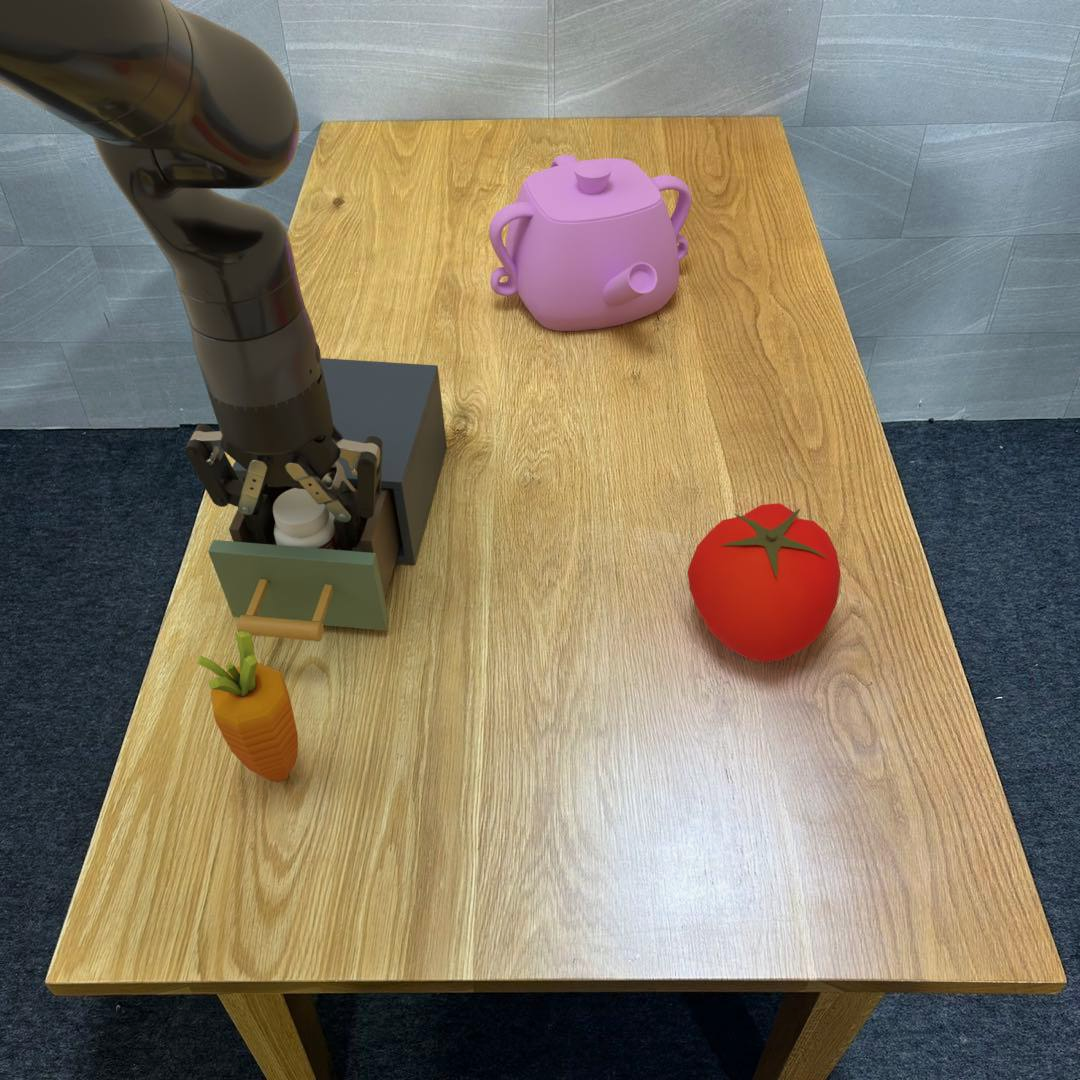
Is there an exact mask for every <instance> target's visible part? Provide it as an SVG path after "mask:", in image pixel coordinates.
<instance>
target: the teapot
mask: <svg viewBox="0 0 1080 1080" xmlns="http://www.w3.org/2000/svg"><path fill="white" fill-rule="evenodd" d="M667 190H668V191H669V190H671V191H676V192H677V193H678V197H677V201H676V204H675V207H674V210H673V211H672V214H671V215H670V214H669V211H668V208H667V207H668V206H667V205H666V202H665V200H664V198H663V195H662V193H661V192H663V191H667ZM692 200H693V199H692V192H691V189H690V187H689V185H688V184H686V182H684V181H683V180H682V179H680V178H679V177H677V176H674V175H670V174H661V175H657V176H653V177H651V178H650V177H649V176H648V174H646V173H645V171H644V170H643V169H642V168H641V167H640V166H638V164H637V163H635V162H634V161H632V160H630V159H626V158H616V157H615V158H600V159H599V158H597V159H596V158H595V159H585V160H580V161H579V160H578V159H577V157H576V156H574V155H572V154H561V155H559V156H556V157H554V159H552V161H551V163H550V167H548V168H545V169H542V170H539V171H536V172H534V173H532V174H530V175H529V176H528V177H526V178H525V179H524V181H523V183H522V185H521V186H520V190H519V192H518V195H517V197H516V200H515V202H512V203H510V204H507V205H504V206H503V207H501V209H500V210H498V211H497V212H496V213H495V214H494V216H493V217H492V218H491V221H490V222H489V228H488V236H489V240H490V244H491V247H492V249H493V251H494V253H495V255H496V257H497V258H498V260H499V262H500V264H501V265H502V266H501V267H497V268H495V269H494V270H493V271H492V272H491V274H490V278H489V279H490V280H489V284H490V287H491V290H492V291H493V292H494V293H495V294H496V295H499V296H502V297H511V296H514V295H516V294H517V295H518V297H519V298H520V300H521V302H522V303H523V304H524V306H525V307H526V309H527V311H528V312H529V313H530V314H531V316H533V318H534V320H536V322H537V323H538V324H539V325H541V326H542V327H544V328H546V329H548V330H552V331H557V332H558V331H559V332H579V331H590V330H598V329H606V328H611V327H616V326H620V325H625V324H627V323H628V324H629V323H630V322H635V321H637V320H640V319H642V318H646V317H647V316H650V315H652V314H654V313H656V312H659V311H660V310H661V309H663V308H664V307H665V306H666V305H667V303H668V302H669V301H670V300H671V298H672V296H673V295H674V294H675V292H676V291H677V288H678V285H679V283H680V262H681V261H682V260H683V259H685V258H686V257H687V255H688V254H689V248H690V247H689V246H690V245H689V241H688V238H687V237H686V236H685V235H684V234H682V233H681V231H682V229H683V227H684V225H685V224H686V221H687V219H688V217H689V213H690V211H691V207H692ZM507 225H508V226H507ZM506 226H507V231H506V239H505V240H506V241H505V244H504V240H503V237H502V236H503V235H502V232H503V230H504V229H505V227H506ZM503 277H508V279H507V280H506V281H503V282H501V281H500V280H501V279H502V278H503Z"/></svg>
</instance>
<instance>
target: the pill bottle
mask: <svg viewBox="0 0 1080 1080" xmlns="http://www.w3.org/2000/svg"><path fill="white" fill-rule="evenodd" d="M273 515H274V519H275V522H276V523H275V526H274V536H275V541H276V544H277V545H282V546H295V547H307V548H319V549H332V550H340V547H339V543H338V539H337V535H336V530H335V526H334V522H333V521H334V519H335V517H334V516H333V514H332V513H331V512H330V511H329V510H328V509H327V507H326V506H325V505H324V504H320V505H319V504H317V503H316V501H315V500H314V499H313V498H312V497H311V495H310V494H309V493H308V492H307V491H306V490H305V489H297V488H293V489H290V490H288V491H286V492H284V493H283V494H281V495H280V496H279V497H278V498H277V499H276V500H275V502H274V504H273Z"/></svg>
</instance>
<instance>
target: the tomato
mask: <svg viewBox="0 0 1080 1080" xmlns="http://www.w3.org/2000/svg"><path fill="white" fill-rule="evenodd" d="M800 512H801V508H798V509H797V510H796V511H793V510H792V509H790V508H789V507H787V506H785V505H784V504H782V503H781V502H778V503H777V502H776V503H767V504H761V505H759V506H757V507H755V508H754V509H751V510H749V511H747V512H746V513H745V514H743V515H739V514H737V513H735V512H733V515H734V516H735V517H731V518H726V519H722V520H721V521H719V522H718V523H717V524H716V525H715V526H714V527H712V529H711V530H710V531H708V532H707V534H706V535H705V536H704V538H703V539H701V541H700V542H698V544H697V545H696V547H695V550H694V553H693V555H692V558H691V561H690V563H689V566H688V569H687V579H688V587H689V591H690V594H691V596H692V599H693V602H694V605H695V607H696V609H697V611H698V612H699V614H700V616H701V618H702V619H703V621H704V623H705V625H706V627H707V628H708V630H709V632H710V633H711V634H712V635H713V636H714V637H715V638H716V639H717V640H718V641H719V642H721V644H723V646H725V647H726V648H727V649H729V650H730V651H733V652H735V653H736V654H739V655H740V656H742V657H744V658H746V659H748V660H750V661H754V662H755V661H756V662H760V663H771V662H776V661H782V660H783V661H784V660H785V659H787V658H789V657H791V656H793V655H795V654H796V653H798V652H801V651H802V650H804V649H806V648H807V647H809V646H810V645H812V644H813V643H814V641H816V639H817V638H819V636H821V634H823V632H824V631H825V629H826V627H827V624H828V622H829V621H830V619H831V616H832V614H833V612H834V610H835V607H836V605H837V602H838V598H839V591H840V582H841V568H840V563H839V558H838V552H837V549H836V547H835V545H834V543H833V541H832V539H831V537H830V534H829V533H828V531H826V530H824V528H822V526H820V525H819V524H818V523H817V522H816V521H815V520H810V519H803V518H798V514H799V513H800Z"/></svg>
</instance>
